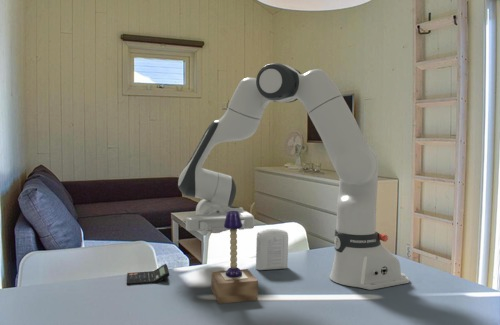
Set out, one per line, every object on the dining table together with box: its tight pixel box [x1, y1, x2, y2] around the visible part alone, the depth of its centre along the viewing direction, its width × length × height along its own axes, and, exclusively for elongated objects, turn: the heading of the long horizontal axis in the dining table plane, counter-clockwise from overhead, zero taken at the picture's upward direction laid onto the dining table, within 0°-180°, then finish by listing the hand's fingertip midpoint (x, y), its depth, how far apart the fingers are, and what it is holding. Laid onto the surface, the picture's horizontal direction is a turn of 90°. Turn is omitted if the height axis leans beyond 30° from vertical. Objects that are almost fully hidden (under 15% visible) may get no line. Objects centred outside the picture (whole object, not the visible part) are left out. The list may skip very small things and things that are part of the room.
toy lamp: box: [224, 211, 242, 277], centre depth 116 cm, size 5×5×17 cm
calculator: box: [126, 263, 171, 286], centre depth 130 cm, size 9×12×3 cm
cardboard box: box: [210, 268, 259, 305], centre depth 117 cm, size 10×10×5 cm
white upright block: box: [255, 228, 289, 271], centre depth 140 cm, size 10×4×12 cm, turn 107°
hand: (225, 227), depth 125 cm, fingers open, 8 cm apart
